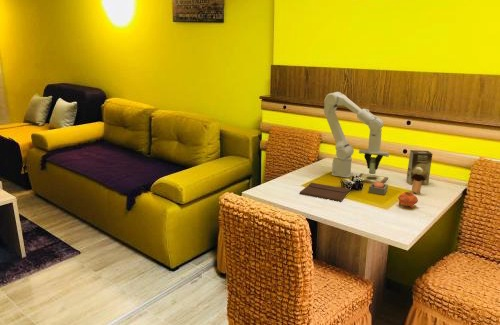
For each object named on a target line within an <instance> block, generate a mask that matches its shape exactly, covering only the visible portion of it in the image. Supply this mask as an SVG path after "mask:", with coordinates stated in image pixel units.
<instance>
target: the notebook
mask: <svg viewBox="0 0 500 325" xmlns="http://www.w3.org/2000/svg"><path fill="white" fill-rule="evenodd" d="M350 191H351V192H352V189H351V188H345V187H339V186H333V185H328V184H324V183H316V182H310V183H309V184H308V185H307V186H305V187H304V188H303V189H301V190H300V191H299V195H302V196H305V197H306V196H307V197H311V198H317V197H318V199H322V198H323V200H327V199H329V201H333V200H334V201H333V202H338V201H339V203H341V202H342V201H343V200H344V199H345V198H346V197H347V196H348V195H349V194H350V193H351V192H350ZM349 192H350V193H349ZM348 193H349V194H348ZM347 194H348V195H347ZM346 195H347V196H346ZM345 196H346V197H345Z"/></svg>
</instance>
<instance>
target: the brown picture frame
mask: <svg viewBox="0 0 500 325" xmlns="http://www.w3.org/2000/svg"><path fill="white" fill-rule="evenodd" d="M357 177H360V178H362V179H364V182H363V183H365V184H370V185H371V184H372V183H375V182H381V183H383V184H385V183H386V182H387V181H388V180H389V177H388V176H387V177H386V176H383V175H382V176H381V175H376V174H370V173H367V174H366V173H362V172H361V173H360V174H359V175H358V176H357Z"/></svg>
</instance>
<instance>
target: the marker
mask: <svg viewBox="0 0 500 325" xmlns="http://www.w3.org/2000/svg"><path fill="white" fill-rule="evenodd" d="M375 167H376V156H371V157H370V166H369V170H368V174H369V175H376V171H377V170H375Z"/></svg>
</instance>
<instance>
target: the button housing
mask: <svg viewBox="0 0 500 325" xmlns="http://www.w3.org/2000/svg"><path fill="white" fill-rule="evenodd" d="M388 186H389V185H388V184H385V183H384V186H383V188H378V187H374V183H372V184H370V185H369V186H368V194H374V195H380V196H385V195H386V193H387V192H388Z"/></svg>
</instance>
